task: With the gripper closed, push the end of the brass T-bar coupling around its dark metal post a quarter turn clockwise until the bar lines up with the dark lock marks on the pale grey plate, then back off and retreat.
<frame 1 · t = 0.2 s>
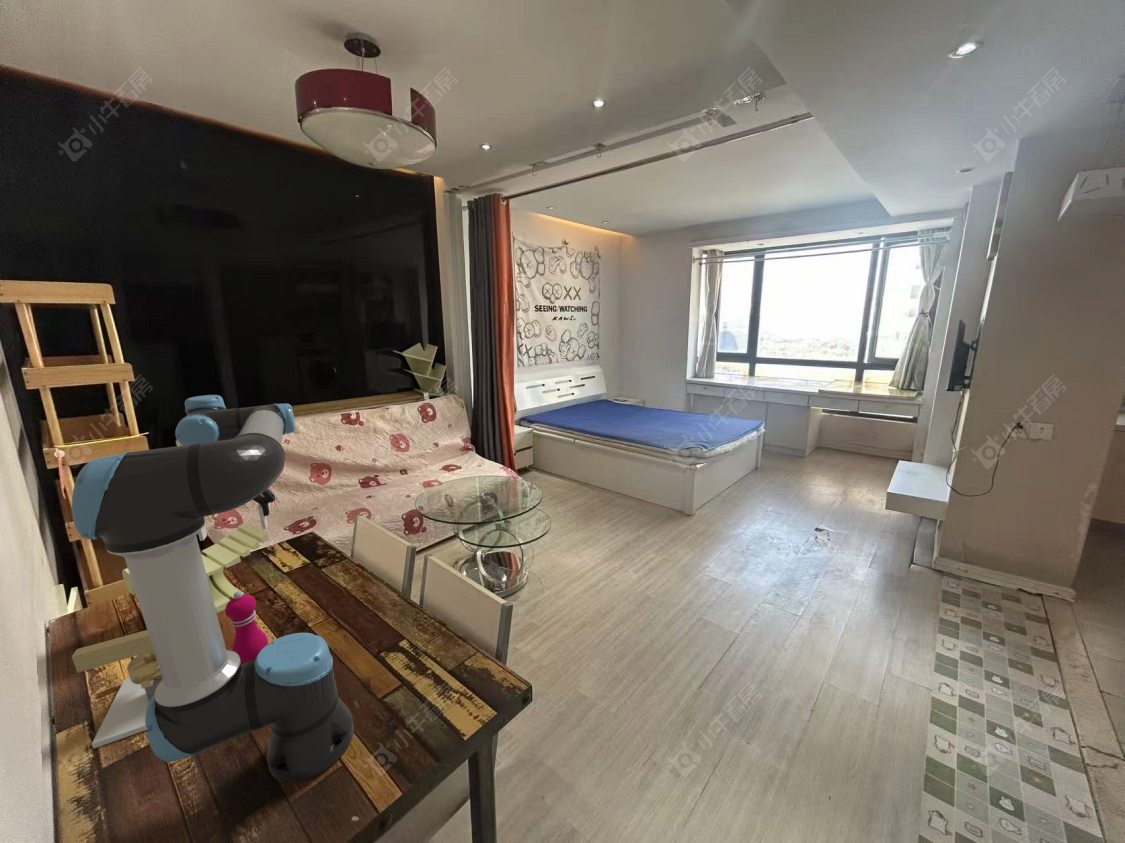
hand: (235, 532, 117), 28 cm above the table, fingers open, 13 cm apart
pepper mill: (254, 661, 110), on the table
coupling: (149, 651, 97), point 12 cm above the table, hinge at 0.0°
slatted curved stool: (212, 601, 133), on the table
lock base: (163, 696, 101), on the table
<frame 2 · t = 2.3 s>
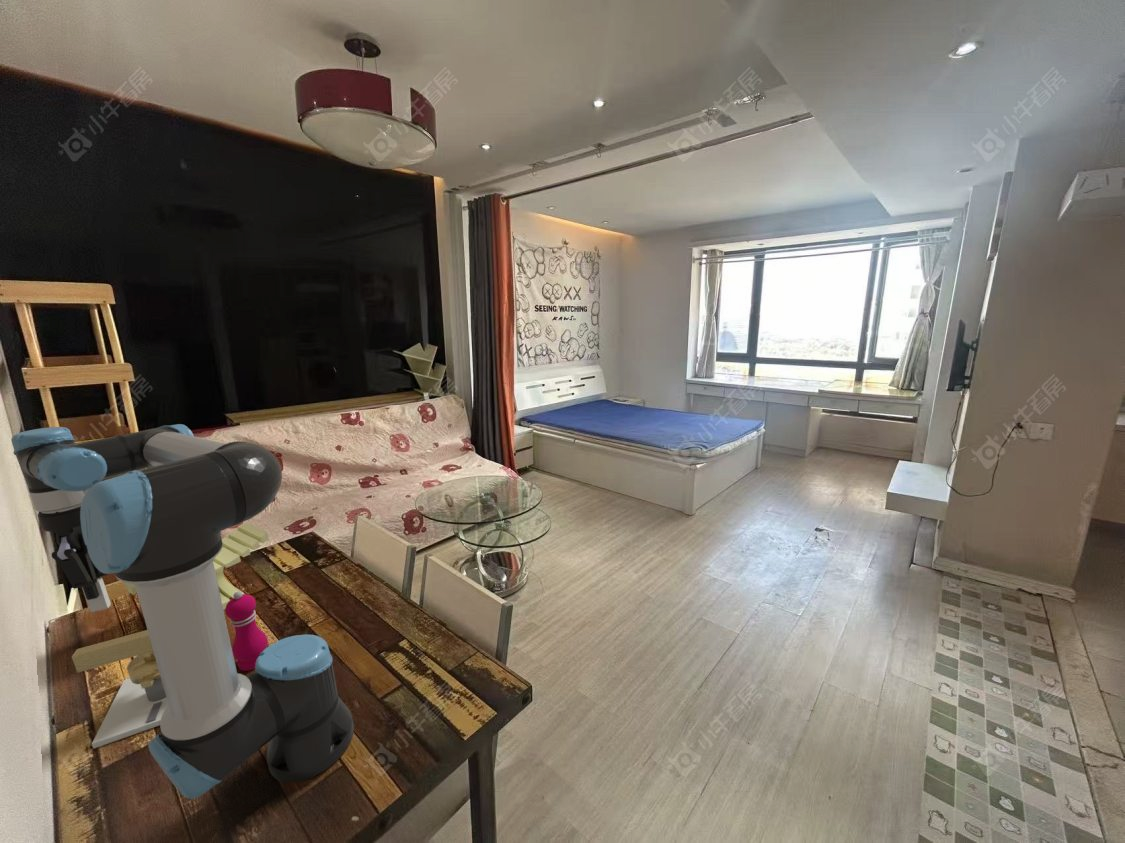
hand: (100, 608, 93), 25 cm above the table, fingers closed
nothing on the table moved.
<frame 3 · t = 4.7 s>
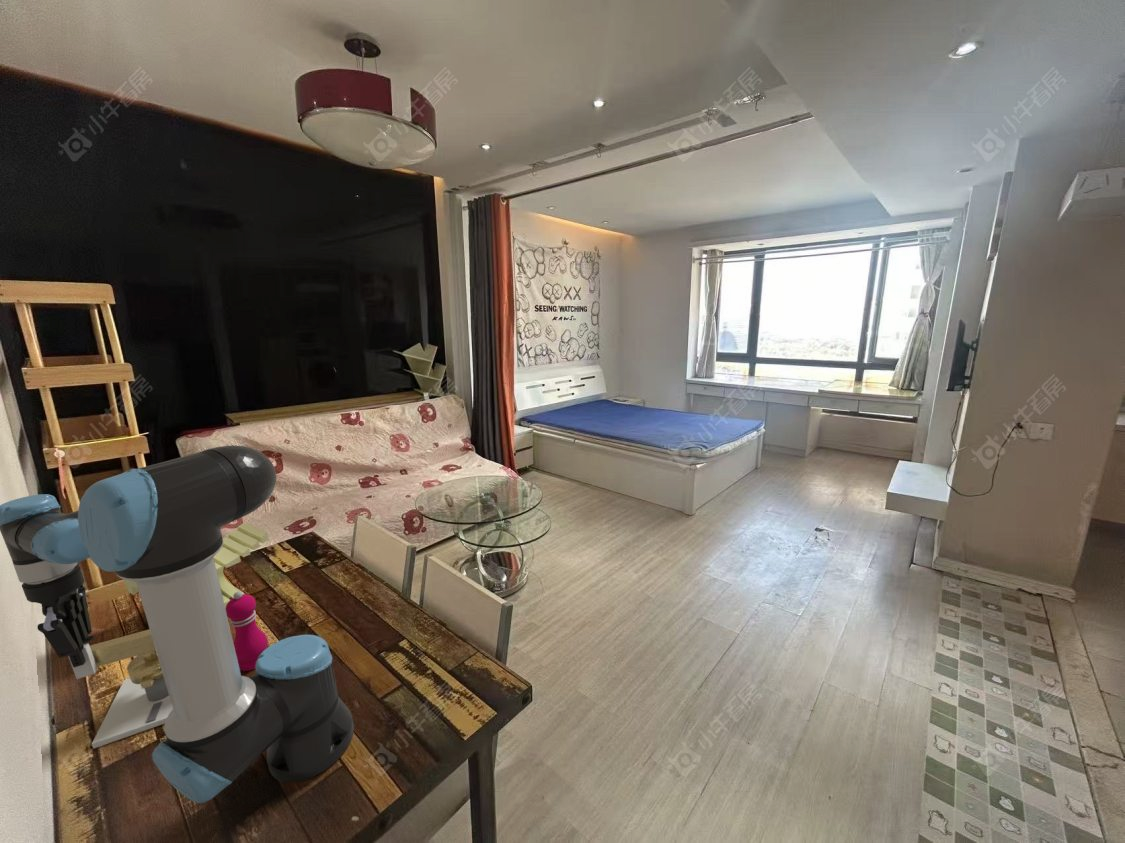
hand: (87, 673, 91), 13 cm above the table, fingers closed
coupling: (149, 651, 97), point 12 cm above the table, hinge at 0.0°, touching gripper
everything else where it was.
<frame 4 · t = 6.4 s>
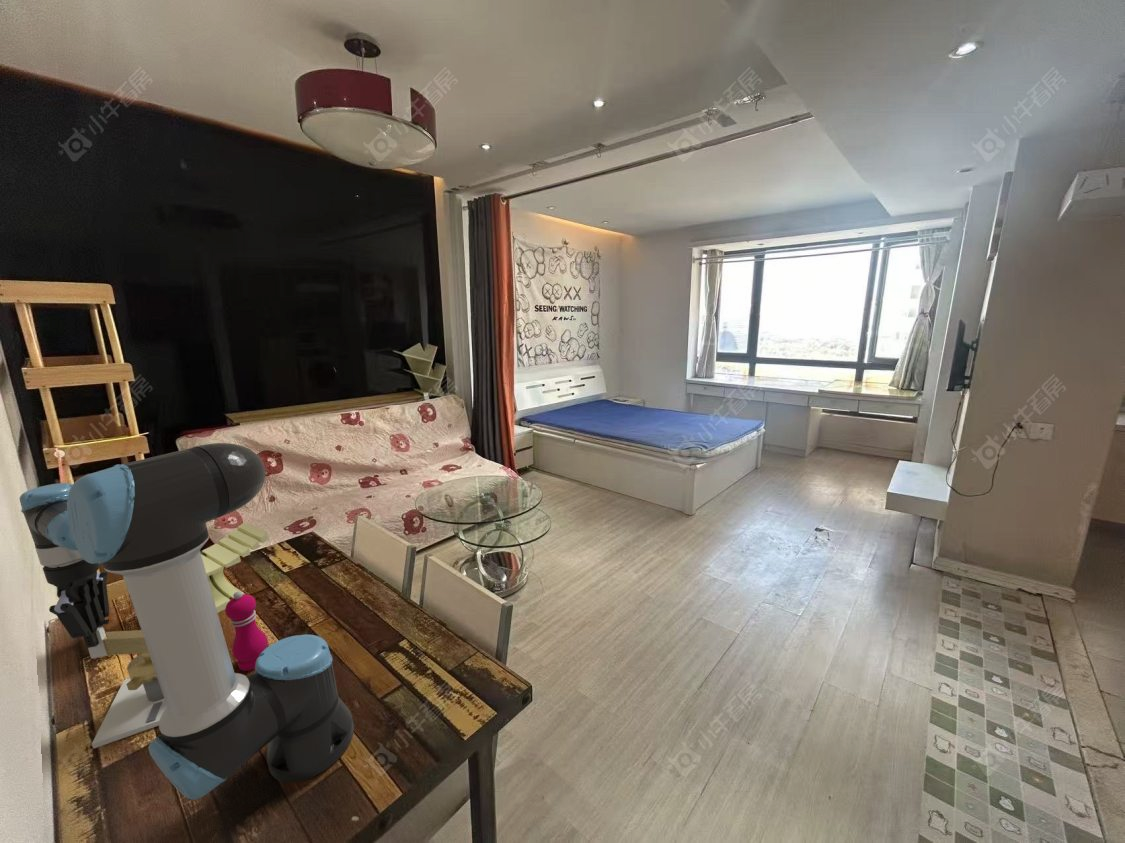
hand: (101, 654, 96), 13 cm above the table, fingers closed
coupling: (149, 651, 97), point 12 cm above the table, hinge at 25.9°, touching gripper
everything else where it was.
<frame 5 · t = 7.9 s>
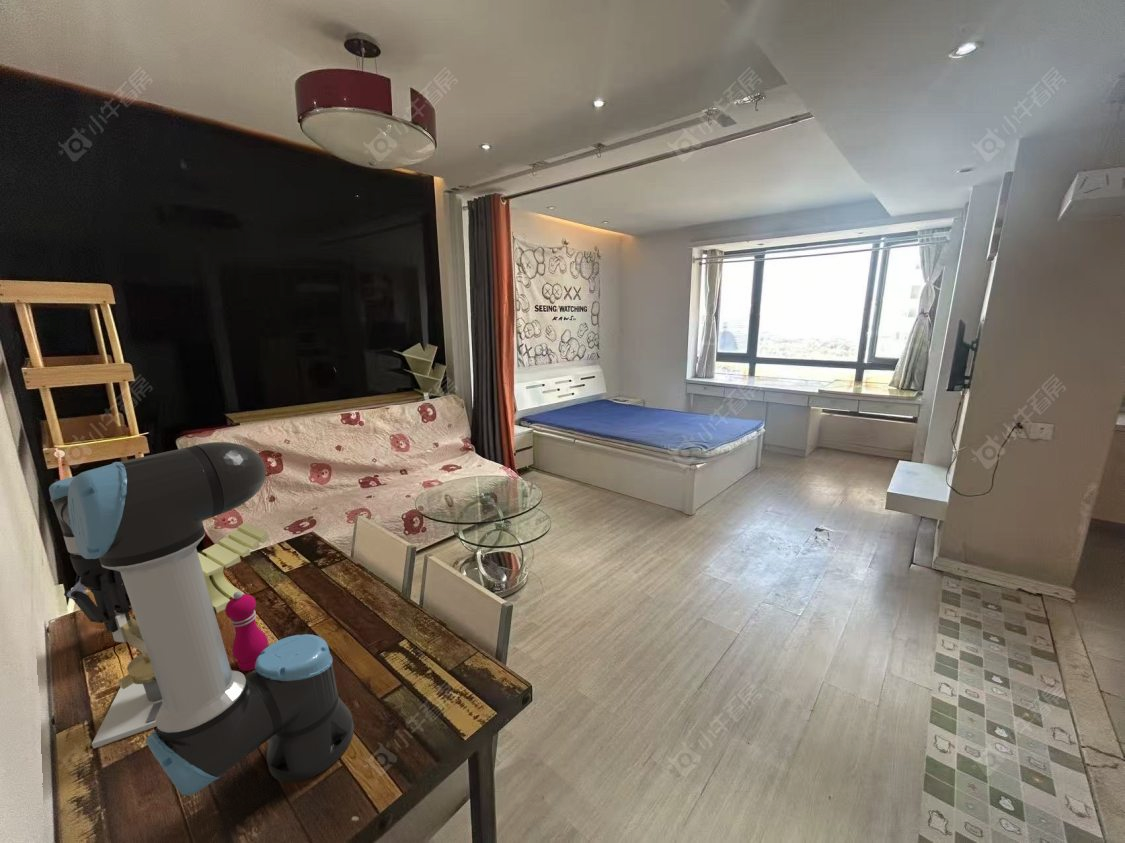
hand: (123, 639, 100), 13 cm above the table, fingers closed
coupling: (149, 651, 97), point 12 cm above the table, hinge at 55.8°, touching gripper
everything else where it was.
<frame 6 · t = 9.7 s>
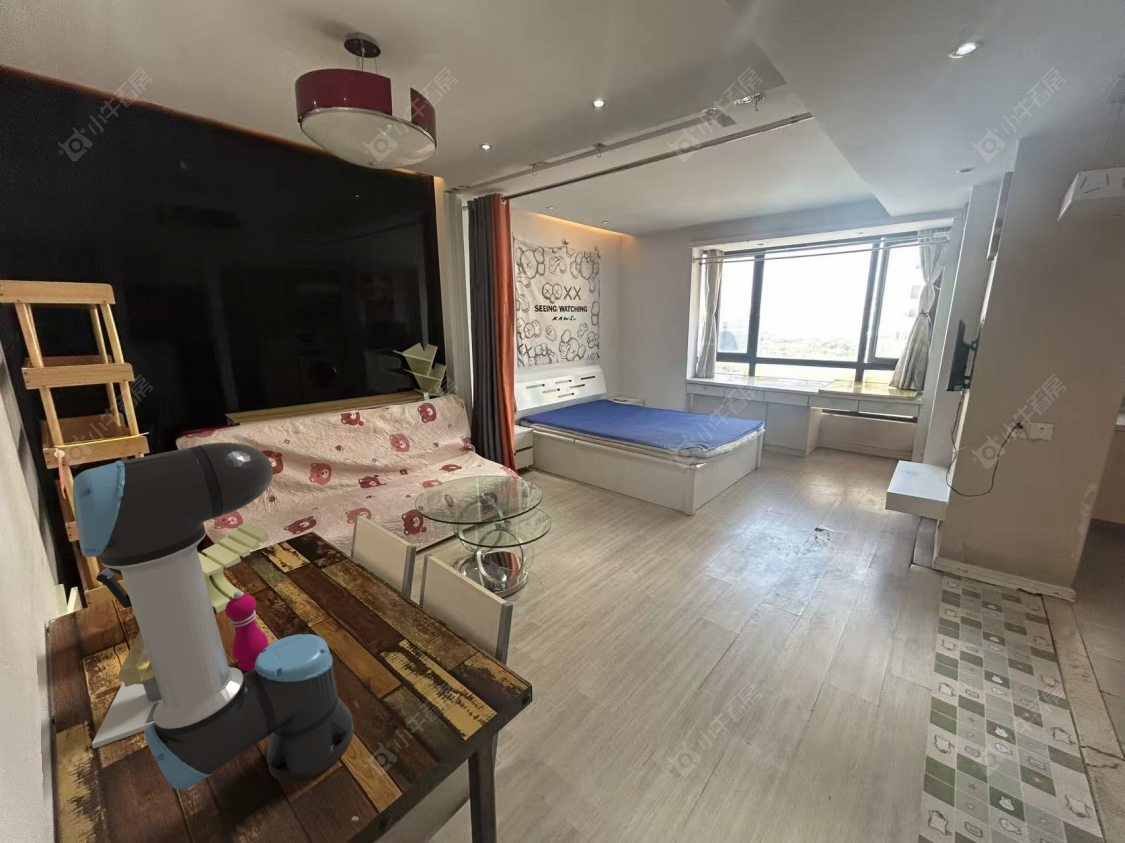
hand: (153, 625, 104), 13 cm above the table, fingers closed
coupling: (149, 651, 97), point 12 cm above the table, hinge at 88.5°, touching gripper
everything else where it was.
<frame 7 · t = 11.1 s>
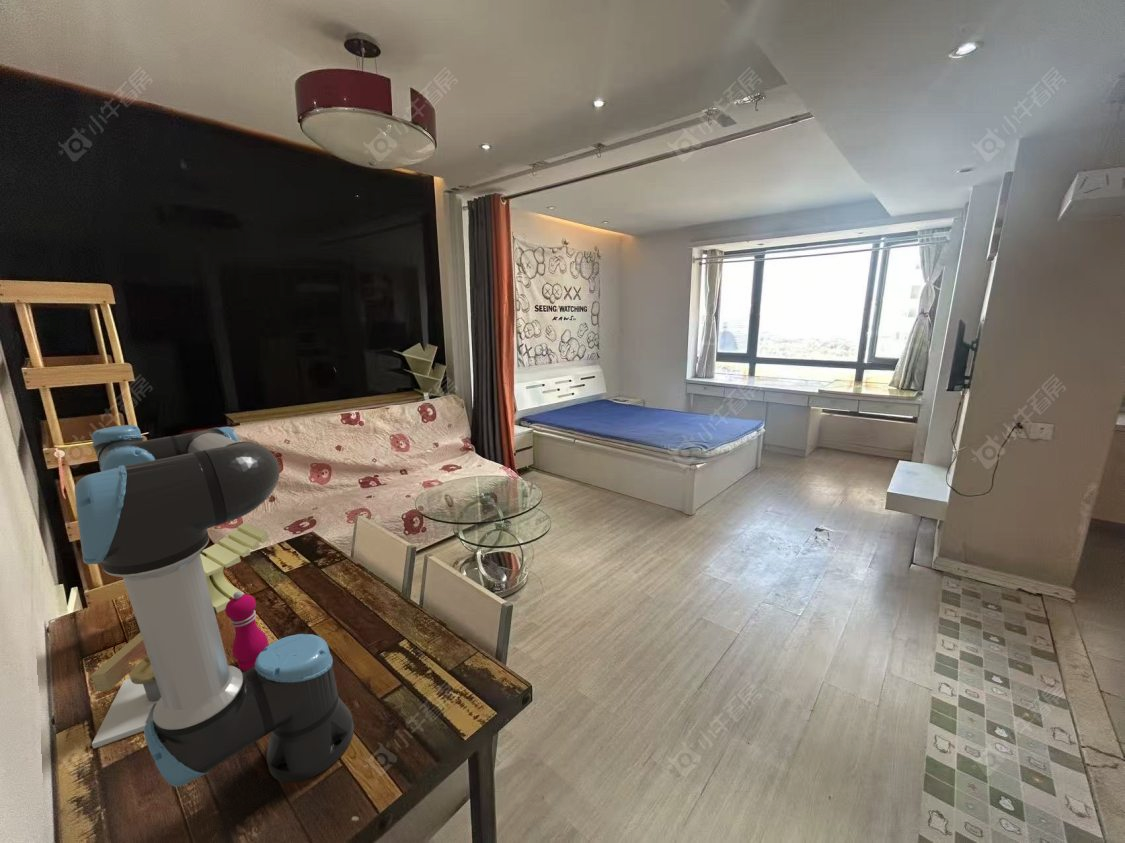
hand: (162, 588, 103), 22 cm above the table, fingers closed
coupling: (149, 651, 97), point 12 cm above the table, hinge at 113.7°
everything else where it was.
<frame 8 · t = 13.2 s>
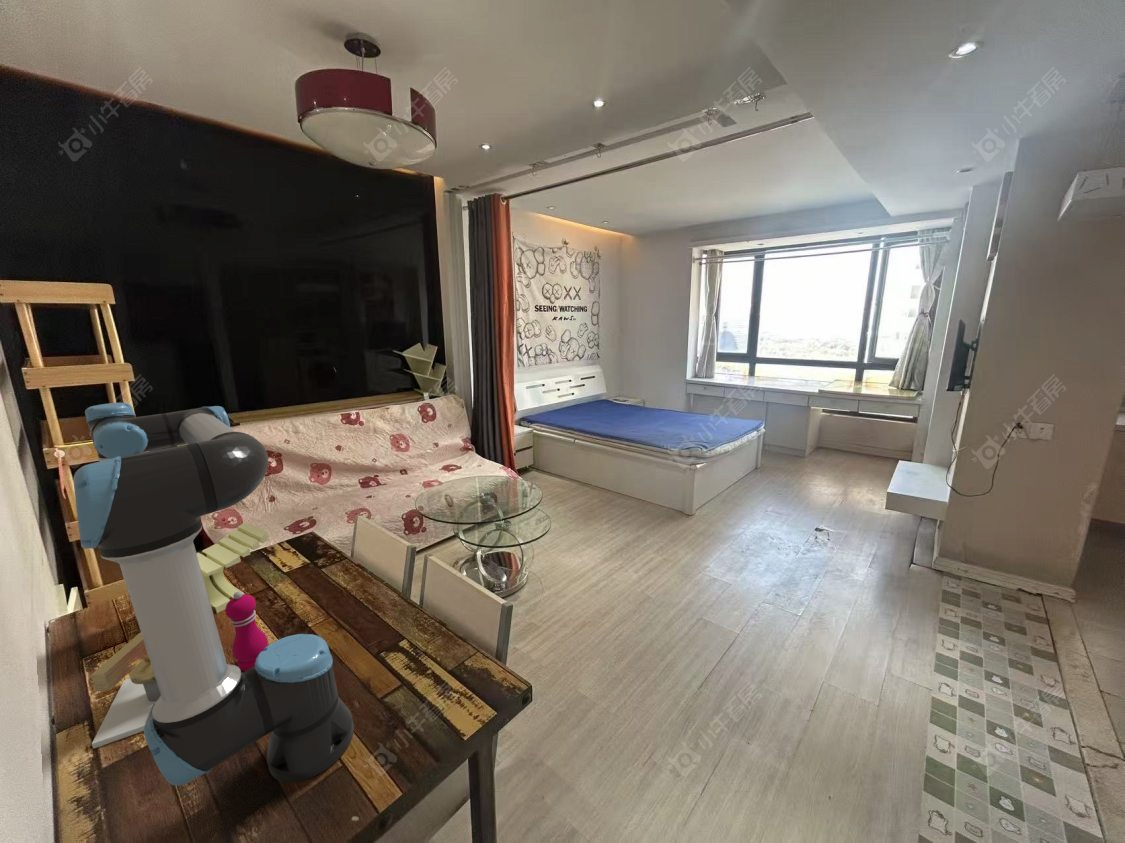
hand: (154, 562, 106), 26 cm above the table, fingers closed
nothing on the table moved.
at the end: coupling at +114° (first picture: +0°); the gripper is holding nothing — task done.
